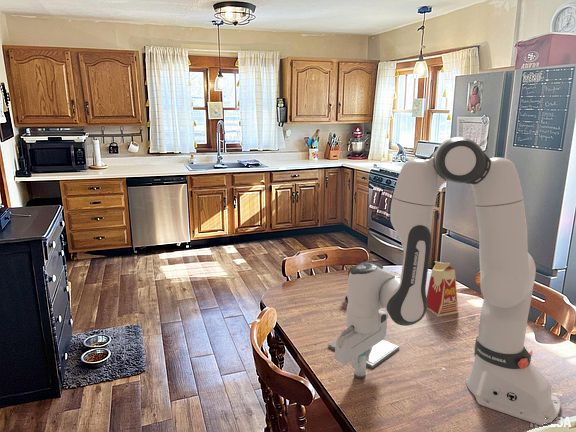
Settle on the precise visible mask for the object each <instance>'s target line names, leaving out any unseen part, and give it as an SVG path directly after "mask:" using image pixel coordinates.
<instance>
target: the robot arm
mask: <svg viewBox="0 0 576 432" xmlns="http://www.w3.org/2000/svg"><path fill="white" fill-rule="evenodd" d="M447 181H450V182H453V183H459V184H469V186H470V187H471V190H472V192H473V193H472V194H473V199H474V207H475V212H476V221H477V227H478V237H479V238H478V239H479V241H478V242H479V245H478V246H479V248H478V251H479V252H478V253H479V255H478V257H479V273H480V274H479V275H480V280H479V281H480V282H479V283H480V285H479V286H480V292H481V294H482V297H483V302H482V305H481V310H480V318H479V319H480V320H479V325H478V326H479V327H478V332H477V333H478V335H477V336H476V339H475V343H474V353H473V354H474V355H473V356H474V360H473V364H472V368H471V371H470V373H469V375H468V376H467V379H466V386H467V388H468V390H469V391H470V392H471V393H472V394H473V396H474V397H475V399H476V400H475V401H476V402H477V404H478V405H480V406H483V407H485V408H489V409H491V410H494V411H497V412H500V413H503V414H505V415H506V414H507V415H509V416H512V417H515V418H517V419H520V420H523V421H526V422H529V423H532V424H535V423H536V424H535V425H538V426H543V425H542V424H544V423H549V422H551V421H553V420H554V419H555V418H556V417H557V418H558V416H559V415H560V412H561V402H560V399H559V398H558V397H557V396H556V395H554V394H553V393H552V386H551V382H550V381H549V379H548V378H547V377H546V376H545V375H544V374H543V373H542V372H541V371H540V370H539V369H537V367H536V366H534V364H533V363H532V362H531V361H532V357H533V350H531V351H530V352H529V351H528V350H527V348H526V347H525V340H526V339H525V338H526V333H527V326H528V318H529V313H530V309H531V302H532V296H533V293H534V292H533V291H534V285H535V278H536V274H537V273H536V272H537V269H536V263H535V261H534V258H533V256H532V255H531V254H530V253H529V250H528V249H529V246H528V225H527V218H526V208H525V200H524V194H523V188H522V184H521V180H520V176H519V173H518V170H517V168H516V165H515V164H514V162H513V161H512V160H510V159H508V158H505V157H498V156H497V157H489V156H488V155H487V154H486V153H485V151H484V150H483V148H481V147H480V146H479V145H478V143H477V142H475V141H474V140H472V139H470V138H467V137H464V136H463V137H462V136H454V137H450V138H447V139H445V140H444V141H443V142H441V144H439V145H438V147H436V149H435V150H434V151H433V153H431V155H429V157H428V158H426V159H425V158H413V159H409V160H408V161H406V162H405V163H404V164H403V165H402V168H401V169H400V171H399V175H398V177H397V179H396V183H395V185H394V190H393V194H392V197H391V198H392V199H391V203H390V212H389V213H390V214H389V215H390V217H389V218H390V223H391V226H392V227H393V229H394V230H395V232H396V234H397V236H398V238H399V240H400V242H401V246H402V249H403V260H402V267H401V274H400V273H398V272H396V271H389V270H385V269H381V268H379V267H377V266H376V265H375V264H372V263H362V262H361V263H362V264H361V263H358V264H356V266H355V265H353V266H354V267H353V266H352V267H353V268H352V269H351V271H350V273H349V278H348V277H347V278H348V279H347V287H346V296H347V298H348V303H347V306H346V316H345V318H346V319H345V320H346V323H345V324H346V325H345V326H346V327H347V328H345V329H344V330H341V333H340V334H339V335H338V337H337V338H336V340H337V341H336V347H335V350H334V359H335V360H336V362H338V363H340V364H342V365H348V364H349V363H350V362H351V367H352V368H353V369H354V370H355V369H357V368H358V367H360V362H359V361H357V359H358V356H360V355H361V354H362V353H364V352H365V351H367V355H366V362H367V361H368V360H369V355H370V353H371V351H372V347H373V346H374V345H376V344H377V343H379V342H380V341H382V340H385V337H386V335H387V329H388V328H387V327H388V323H387V320H388V319H389V317H390V319H391V320H392V321H393V323H395V324H397V325H398V326H404V327H405V326H406V327H407V326H408V327H409V326H412V325H415V324H417V323H419V322H420V321H421V320H422V319H423V318H424V317H425V316H426V314H427V311H428V309H427V307H428V303H427V292H426V287H427V280H428V274H429V273H428V272H429V265H430V256H431V250H432V249H431V248H432V224H433V223H432V222H433V216H434V210H435V206H436V202H437V197H438V194H439V190H440V188H441V187H442V186H443V184H444V183H446V182H447ZM381 309H385V310H386V311H384V310H381ZM558 414H559V415H558ZM545 418H546V419H545ZM557 418H556V419H557ZM556 419H555V420H556ZM555 420H554V421H555ZM554 421H553V422H554Z"/></svg>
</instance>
